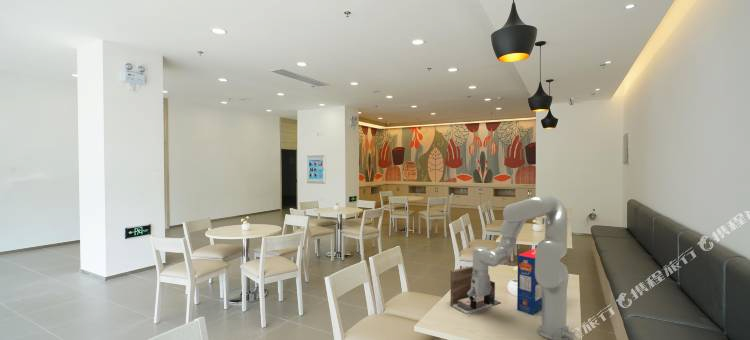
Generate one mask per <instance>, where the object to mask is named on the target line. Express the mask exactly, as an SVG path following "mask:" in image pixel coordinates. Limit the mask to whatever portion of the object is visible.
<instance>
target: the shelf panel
mask: <svg viewBox="0 0 750 340" xmlns="http://www.w3.org/2000/svg"><path fill="white" fill-rule="evenodd" d="M472 272H473V265H471V266H466V267H463V268H457V269H453V270H451V271H450V307H453V305H454V304H457V301H458V300H460V299H464V298H468V294H467V292H468V291H469V290H470V289H471V279H472V275H473V273H472Z"/></svg>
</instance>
